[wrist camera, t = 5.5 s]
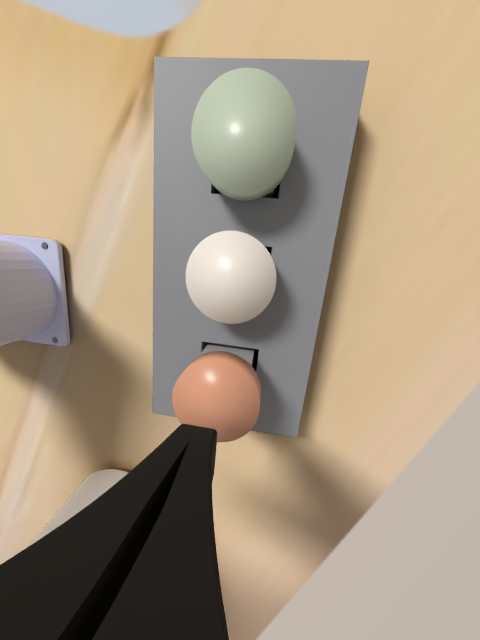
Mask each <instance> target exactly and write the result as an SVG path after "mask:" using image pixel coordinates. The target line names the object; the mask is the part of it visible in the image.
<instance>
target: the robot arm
mask: <svg viewBox="0 0 480 640" xmlns="http://www.w3.org/2000/svg"><path fill="white" fill-rule="evenodd" d="M47 244H48V249H47ZM56 338H57V339H58V340H57V339H56ZM18 340H22V341H28V342H35V343H42V344H48V345H55V346H61V347H63V346H66V345H68V344H69V343H70V331H69V320H68V309H67V298H66V286H65V275H64V264H63V253H62V246H61V244H60V242H58V241H57V240H51V239H41V238H32V237H22V236H12V235H2V234H0V346H2V345H5V344H8V343H12V342H15V341H18ZM216 444H217V431H216V430H215V429H212V428H206V427H200V426H194V425H189V424H181V425H180V426H179V427H178V428H177V429H176V430H175V431H174V432H173V433H172V434H171V435H170V436H169V437H168V438H167V439H166V440H165V441H163V442H162V443H161V444H160V445H159V446H158V447H157V448H156V449H155V450H154V451H153V452H152V453H151V454H149V455H148V456H147V457H146V458H145V459H144V460H143V461H142V462H141V463H139V464H138V465H137V466H136V467H135V468H134V469H133V470H131V471H130V472H129V473H128V474H127V475H125V476H124V477H123V478H122V479H121V480H119V481H118V482H117V483H116V484H114V485H113V486H112V487H111V488H110V489H108V490H107V491H106V492H105V493H103V494H102V495H101V496H99V497H98V498H97V499H96V500H94V501H93V502H92V503H90V504H89V505H88V506H86V507H85V508H84V509H82V510H81V511H80V512H78V513H77V514H75V515H74V516H73V517H71V518H70V519H68V520H67V521H66V522H64V523H63V524H61V525H60V526H58V527H57V528H56V529H54V530H53V531H51V532H50V533H48V534H47V535H45V536H44V537H42V538H41V539H39V540H38V541H36V542H35V543H33V544H32V545H30V546H29V547H27V548H26V549H24V550H23V551H21V552H20V553H18V554H17V555H15V556H14V557H12V558H10V559H9V560H7V561H6V562H4V563H3V564H1V565H0V640H229V638H228V631H227V625H226V619H225V612H224V606H223V600H222V593H221V586H220V578H219V570H218V562H217V554H216V544H215V534H214V522H213V506H212V480H213V475H214V467H215V455H216Z"/></svg>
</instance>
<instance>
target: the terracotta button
mask: <svg viewBox="0 0 480 640" xmlns="http://www.w3.org/2000/svg"><path fill="white" fill-rule="evenodd" d="M253 356H254V349H252V348H245V347H238V346H231V345H224V344H217V343H208V345H207V346H206V347H205V349H204V350H203V351H202V353H201V354H200V355H199V356H198V357H197V358H195V359H194V360H193V361H192V362H191V363H190V364H189V365H188V367H187V368H186V369H185V370H184V372H183V373H182V374H181V375H180V377H179V378H178V380H177V381H176V383H175V385H174V388H173V392H172V404H173V408H174V411H175V414H176V416H177V418H178V419H179V421H180V422H181V423H182V424H189V425H194V426H200V427H206V428H212V429H215V430H216V431H217V442H228V441H233V440H236V439H238V438H240V437H242V436H244V435H245V434H247V433H248V432H249V431H250V430H251V429H252V428H253V426H254V425H255V423H256V421H257V419H258V416H259V411H260V397H261V384H260V380H259V378H258V375H257V373H256V371H255V370H254V369H253V367H252V365H253Z"/></svg>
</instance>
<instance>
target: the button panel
mask: <svg viewBox="0 0 480 640" xmlns="http://www.w3.org/2000/svg"><path fill="white" fill-rule="evenodd" d="M368 65H369V61H350V60H295V59H239V58H184V57H154V235H153V413H155V414H161V415H167V416H173V417H177V416H176V414H175V411H174V408H173V404H172V392H173V388H174V385H175V383H176V381H177V380H178V378H179V377H180V375H181V374H182V373H183V372H184V370H185V369H186V368H187V367H188V365H189V364H190V363H191V362H192V361H193V360H194V359H195V358H197V357H198V356H199V355H200V354H201V353H202V351H203V350H204V349H205V347H206V346H207V345H208V343H217V344H224V345H231V346H238V347H245V348H252V349H259V354H258V361H257V369H256V373H257V375H258V378H259V380H260V384H261V397H260V411H259V416H258V419H257V421H256V423H255V425H254V426H253V428H252V429H251V430H253V431H259V432H264V433H270V434H276V435H282V436H287V437H293V438H297V435H298V430H299V424H300V419H301V414H302V409H303V404H304V398H305V393H306V388H307V383H308V378H309V372H310V367H311V362H312V357H313V352H314V346H315V341H316V336H317V331H318V326H319V320H320V315H321V310H322V305H323V300H324V294H325V289H326V284H327V279H328V274H329V268H330V263H331V258H332V253H333V248H334V242H335V237H336V232H337V227H338V221H339V216H340V211H341V206H342V201H343V195H344V190H345V185H346V180H347V175H348V169H349V164H350V159H351V154H352V149H353V143H354V138H355V133H356V128H357V123H358V117H359V112H360V107H361V102H362V97H363V91H364V86H365V81H366V76H367V71H368ZM248 67H249V68H257V69H260V70H264V71H266V72H268V73H270V74H271V75H273V76H274V77H276V78H277V79H278V80H279V81H280V82H281V83H282V84H283V85H284V87H285V88H286V89H287V91H288V93H289V94H290V96H291V98H292V101H293V103H294V107H295V110H296V116H297V136H296V141H295V146H294V151H293V156H292V160H291V163H290V167H289V169H288V171H287V173H286V175H285V177H284V178H283V180H282V181H281V183H280V190H279V198H278V199H276V198H263V197H261V198H258V199H255V200H249V201H240V200H235V199H232V198H229V197H227V196H225V195H224V194H221V193H220V192H219V191H218V190H217V189H216V188H215V187H214V186H213V185H212V183H211V182H210V181H209V179H208V178H207V177H206V175H205V174H204V172H203V171H202V169H201V168H200V166H199V164H198V162H197V160H196V157H195V155H194V151H193V147H192V140H191V128H192V120H193V116H194V112H195V109H196V106H197V104H198V102H199V100H200V98H201V96H202V95H203V93H204V92H205V90H206V89H207V88H208V86H209V85H210V84H211V83H212V82H213V81H214V80H216V79H217V78H218V77H220V76H221V75H223V74H225V73H226V72H229V71H231V70H234V69H238V68H248ZM221 231H239V232H243V233H246V234H248V235H251V236H253V237H254V238H256V239H257V240H258V241H260V242H261V243H262V244H263V245H264V246H265V248H266V249H272V253H271V257H272V259H273V262H274V265H275V269H276V287H275V291H274V294H273V297H272V299H271V301H270V303H269V304H268V306H267V307H266V308H265V309H264V310H263V311H262V312H261V313H260V314H259V315H258V316H256V317H255V318H253V319H251V320H249V321H246V322H243V323H238V324H226V323H221V322H218V321H215V320H213V319H211V318H209V317H207V316H206V315H204V314H203V313H202V312H201V311H200V310H199V309H198V308H197V307H196V306H195V304H194V303H193V301H192V299H191V298H190V295H189V293H188V290H187V286H186V267H187V263H188V260H189V257H190V255H191V253H192V252H193V250H194V249H195V247H196V246H197V245H198V244H199V243H200V242H201V241H202V240H204V239H205V238H206V237H208V236H210V235H212V234H214V233H217V232H221Z"/></svg>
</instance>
